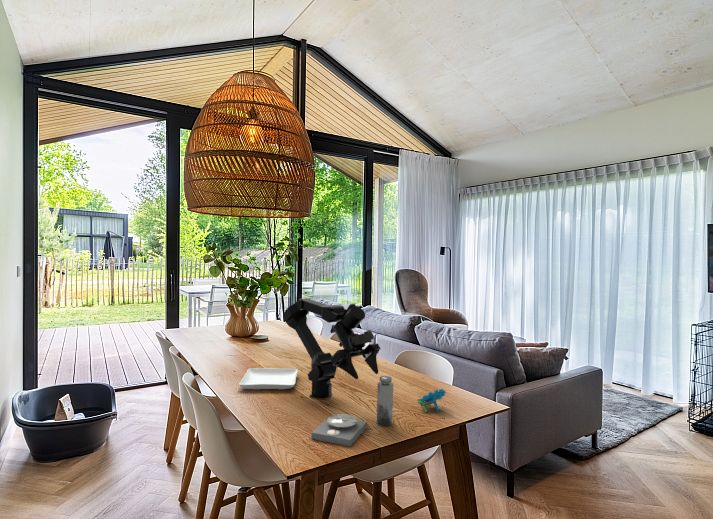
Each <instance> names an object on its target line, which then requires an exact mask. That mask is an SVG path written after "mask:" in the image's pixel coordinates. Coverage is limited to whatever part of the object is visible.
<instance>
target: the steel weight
mask: <svg viewBox="0 0 713 519" xmlns="http://www.w3.org/2000/svg"><path fill="white" fill-rule="evenodd" d="M392 379H393V378H392V377H391V376H389V375H380V376H379V382H378V383H377V388H376V389H377V397H376V401H377V402H376V424H377V425H378V426H380V425H381V427H390V426H392V425H393V419H394V418H393V416H394V415H393V414H394V413H393V412H394V383H393V382H392Z"/></svg>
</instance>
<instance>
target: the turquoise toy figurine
mask: <svg viewBox="0 0 713 519" xmlns="http://www.w3.org/2000/svg"><path fill="white" fill-rule="evenodd" d="M446 393H447V392H446V390H445V389H443V388H441V389H435V390H434V391H433V392H432V391H430V392H428V393H427V395H426V394H424V395H423V396H422V397H421V398H418V399H417V400H416V401H417V403H418V405H420V407H422V408H423V411H424V412H425V413H427V412H428V410H427V408H426V406H428V405H431V404H432V405H434V408H435V410H436V412H439V411H441V409H440V407H439V405H438V401H437V400H442V397H445V395H446Z"/></svg>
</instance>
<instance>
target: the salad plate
mask: <svg viewBox="0 0 713 519" xmlns="http://www.w3.org/2000/svg"><path fill="white" fill-rule="evenodd" d="M298 372H299V369H297V368H276V367H274V368H271V367H270V368H268V367H267V368H266V367H264V368H258V367H257V368H256V367H255V368H250V367H249V368H248V369H247V371H246V372H245V374H244V376H243V377H242V379H241V380H240V381H239V383H238V386H240V388H242V389H244V390H260V389H278V390H289V389H292V388H293V387H295V385H296V382H297V381H296V380H297V375H298Z"/></svg>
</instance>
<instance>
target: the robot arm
mask: <svg viewBox="0 0 713 519" xmlns="http://www.w3.org/2000/svg"><path fill="white" fill-rule="evenodd" d="M309 313H312V314H315V315H318V316H320V317H321V319H322V320H323V321H325V322H326V323H329V324H330V323H335V324H333V325H331V328H330V334H336V336H337V339H338V340H339V342H340V343H339V344H338V347H340V348H343V349H337V350H336V352H335V353H334V354H333V355H332V354H331V352H324V351H323V349H322V348H321V346H320V344H319V343H318V341H317V340H316V337H315V335H314V334H313V332H312V331H311V329H310V327H309V326H308V323H307V322H308V315H309ZM282 314H283V315H282V317H283V320H284V322H285V323H286V325H287V326H288V327H289V328H291V329H293V330H294V331H295V332H296V334H297V335H298V337H299V339H300V341H301V343H302V344H303V347H304V348H305V350H306V352H307V354H308V355H309V358H310V359H311V363H310V364H311V365H310V368H311V370H310V371H309V372H308V373H307V378H308V381H311V394H310V395H309V397H310V398H315V399H321V400H326V399H328V398H329V397H330V396H332V395H333V393H332V392H333V391H332V387H333V385H332V382H331V380H333V379H335V377H336V372H337V370H338V369H337V368H339V369H341V370H342V371H344V372H345V373H347V374H349V375H350V376H351V377H352V378H354V380H358V379H359V375H358V372H357V370H356V369H355V366H354V364H353V362H352V361H353V360H352V358H356V357H360V356H361V357H363V358H364V361H365V363H366V364H367V366H368V367H369V368H370V369H371V370H372V372H373V373H374V374H375V375H378V374H379V366H378V360H377V356H378V354H379V352H380V350H381V347H380V344H379V343H376V342H374V343H373V341H372V340H374V337H375V336H374V333H373V332H372V331H371V330H366V331H364V332H363V333H360V334H358V333H355V332H354V329H356V328H357V327H358V326H359V324H360V323H362V322H363V320H365V318H366V312H365V311H364V310H363V309H362V308H361V307H359V306H358V305H356V303H350V304H349V305H348V306H347V309H346V308H345V307H344V305H342V304H341V305H339V304H329V305H328V304H326V303H323V302H318V301H315V300H313V299H311V298H308V297H307V298H304V297H303V298H299V299H297V300H296V301H295V302H294V303H293V304H291V305H290V306H288V307H287V308H286V309H285V310H284V312H283V313H282ZM368 343H369V344H368ZM366 344H367V346H366Z"/></svg>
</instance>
